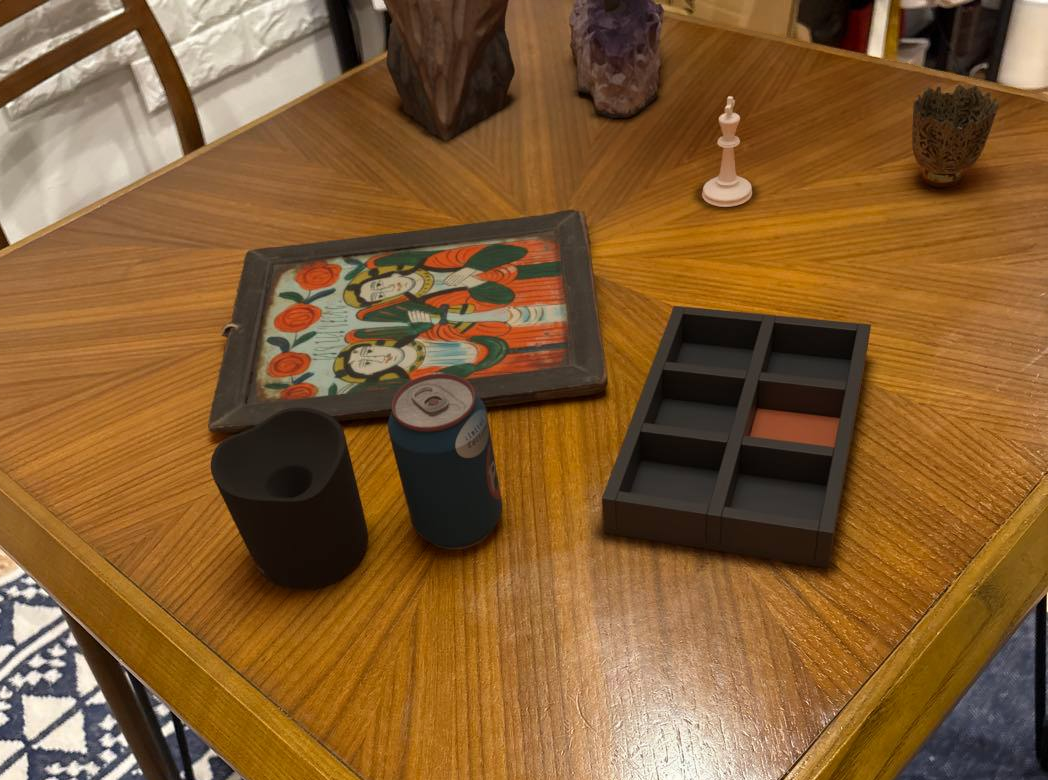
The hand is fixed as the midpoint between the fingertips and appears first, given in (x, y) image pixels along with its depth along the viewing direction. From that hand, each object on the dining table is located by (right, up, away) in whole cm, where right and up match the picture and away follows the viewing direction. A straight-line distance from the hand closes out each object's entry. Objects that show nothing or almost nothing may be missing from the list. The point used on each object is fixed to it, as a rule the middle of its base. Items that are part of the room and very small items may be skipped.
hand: (688, 2), depth 97 cm
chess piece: (+6, -13, +14) cm, 20 cm away
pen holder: (-31, -48, -14) cm, 59 cm away
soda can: (-20, -46, -13) cm, 52 cm away
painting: (-25, -28, +5) cm, 37 cm away
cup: (+27, -12, +11) cm, 31 cm away
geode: (-2, +7, +34) cm, 35 cm away
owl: (-22, +3, +33) cm, 40 cm away
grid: (+2, -40, -11) cm, 41 cm away
